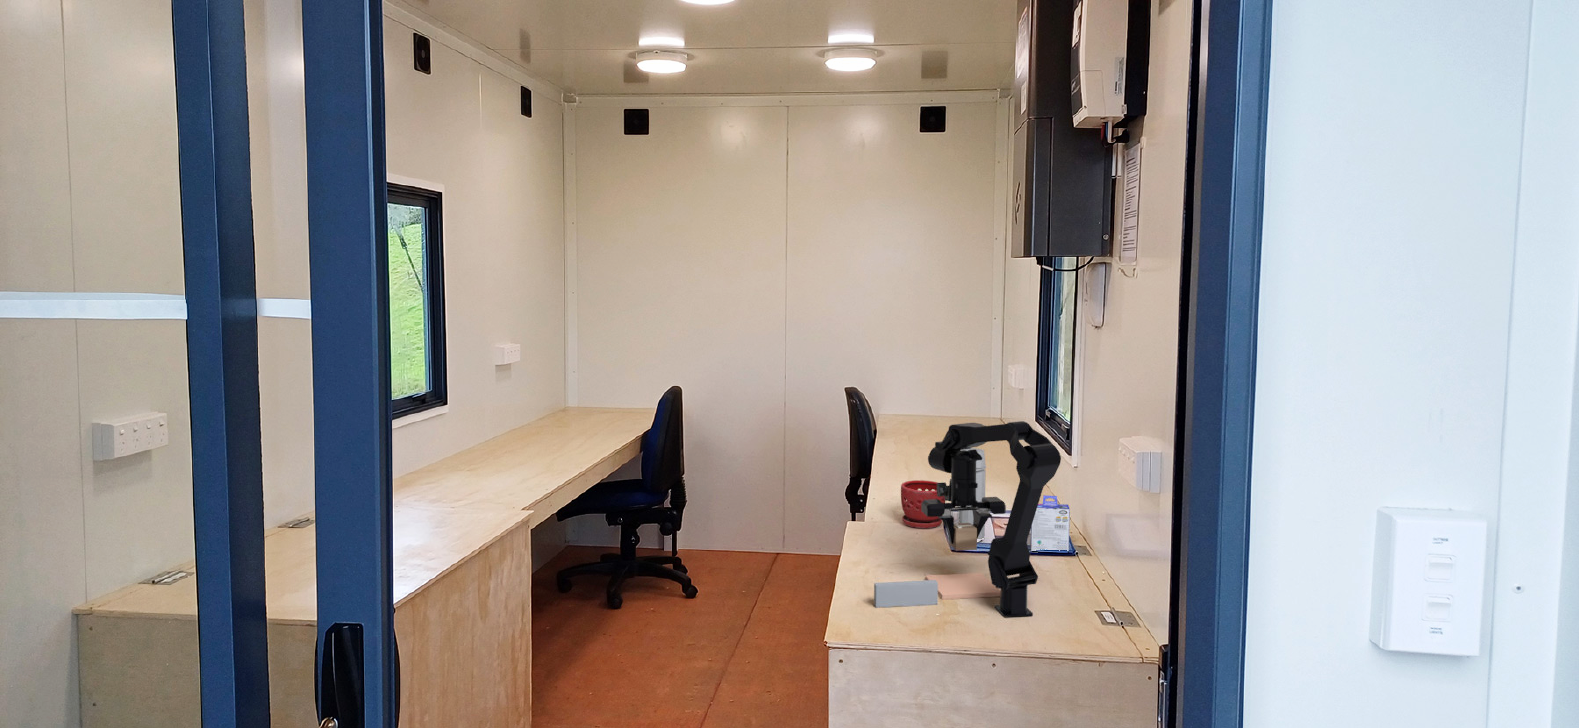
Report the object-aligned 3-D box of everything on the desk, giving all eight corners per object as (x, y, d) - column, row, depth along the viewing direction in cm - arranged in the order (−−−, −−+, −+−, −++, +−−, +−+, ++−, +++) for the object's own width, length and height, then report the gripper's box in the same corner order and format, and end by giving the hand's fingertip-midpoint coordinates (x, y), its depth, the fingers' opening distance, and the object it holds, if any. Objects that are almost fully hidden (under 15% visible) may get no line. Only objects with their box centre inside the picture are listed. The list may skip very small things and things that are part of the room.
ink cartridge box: (1068, 548, 256) (1069, 495, 255) (1069, 554, 251) (1071, 500, 249) (1029, 546, 258) (1030, 493, 257) (1030, 552, 253) (1031, 498, 251)
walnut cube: (976, 549, 222) (976, 527, 222) (955, 550, 222) (956, 528, 221) (969, 543, 227) (969, 522, 227) (949, 544, 227) (949, 523, 226)
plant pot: (896, 529, 276) (897, 488, 275) (905, 517, 289) (905, 478, 287) (942, 532, 272) (942, 491, 271) (948, 520, 285) (949, 481, 284)
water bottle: (981, 535, 269) (982, 447, 266) (988, 543, 261) (989, 453, 259) (948, 536, 269) (949, 448, 266) (954, 544, 261) (955, 453, 258)
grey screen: (937, 604, 214) (937, 582, 214) (876, 607, 212) (876, 585, 212) (934, 601, 216) (935, 579, 216) (874, 604, 214) (874, 582, 214)
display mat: (1001, 596, 219) (1001, 591, 219) (942, 599, 218) (942, 595, 217) (981, 576, 233) (981, 572, 233) (925, 579, 231) (925, 575, 231)
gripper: (990, 468, 232) (989, 531, 234) (915, 471, 229) (914, 535, 231) (1007, 478, 221) (1006, 544, 223) (928, 481, 218) (927, 548, 220)
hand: (962, 542), depth 224 cm, fingers closed on walnut cube, 5 cm apart
